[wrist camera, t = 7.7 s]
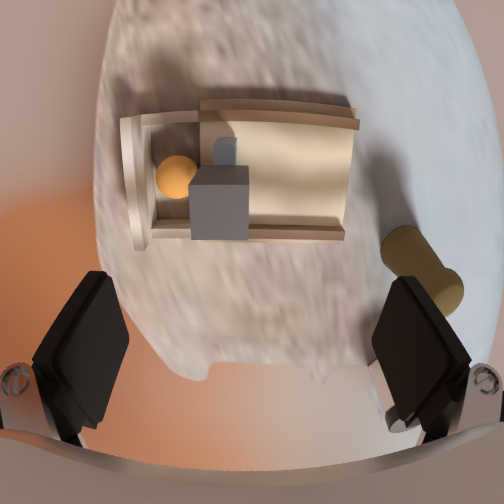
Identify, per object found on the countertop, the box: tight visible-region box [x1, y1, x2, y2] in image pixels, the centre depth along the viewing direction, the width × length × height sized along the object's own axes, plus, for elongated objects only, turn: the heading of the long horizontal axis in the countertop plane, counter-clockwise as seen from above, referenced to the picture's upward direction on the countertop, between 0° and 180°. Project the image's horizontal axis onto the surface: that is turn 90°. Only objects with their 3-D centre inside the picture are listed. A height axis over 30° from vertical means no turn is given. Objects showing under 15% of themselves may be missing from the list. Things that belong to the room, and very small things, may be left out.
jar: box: [368, 359, 421, 433], centre depth 37 cm, size 9×8×12 cm
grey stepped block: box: [188, 137, 249, 240], centre depth 22 cm, size 7×4×9 cm, turn 179°
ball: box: [156, 155, 198, 199], centre depth 25 cm, size 4×4×4 cm
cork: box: [381, 225, 464, 317], centre depth 27 cm, size 6×6×11 cm
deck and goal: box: [120, 99, 360, 251], centre depth 25 cm, size 14×20×5 cm
